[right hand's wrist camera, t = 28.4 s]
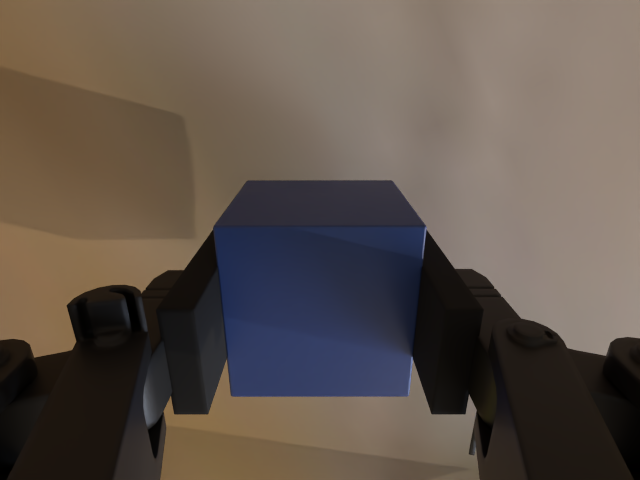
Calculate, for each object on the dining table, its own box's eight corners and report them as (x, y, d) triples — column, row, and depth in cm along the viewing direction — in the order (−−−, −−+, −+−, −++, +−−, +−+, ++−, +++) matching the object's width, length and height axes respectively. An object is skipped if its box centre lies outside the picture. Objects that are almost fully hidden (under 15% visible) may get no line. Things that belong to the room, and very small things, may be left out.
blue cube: (384, 308, 16) (409, 397, 11) (255, 308, 16) (230, 397, 11) (392, 180, 14) (427, 225, 9) (246, 180, 14) (212, 226, 9)
